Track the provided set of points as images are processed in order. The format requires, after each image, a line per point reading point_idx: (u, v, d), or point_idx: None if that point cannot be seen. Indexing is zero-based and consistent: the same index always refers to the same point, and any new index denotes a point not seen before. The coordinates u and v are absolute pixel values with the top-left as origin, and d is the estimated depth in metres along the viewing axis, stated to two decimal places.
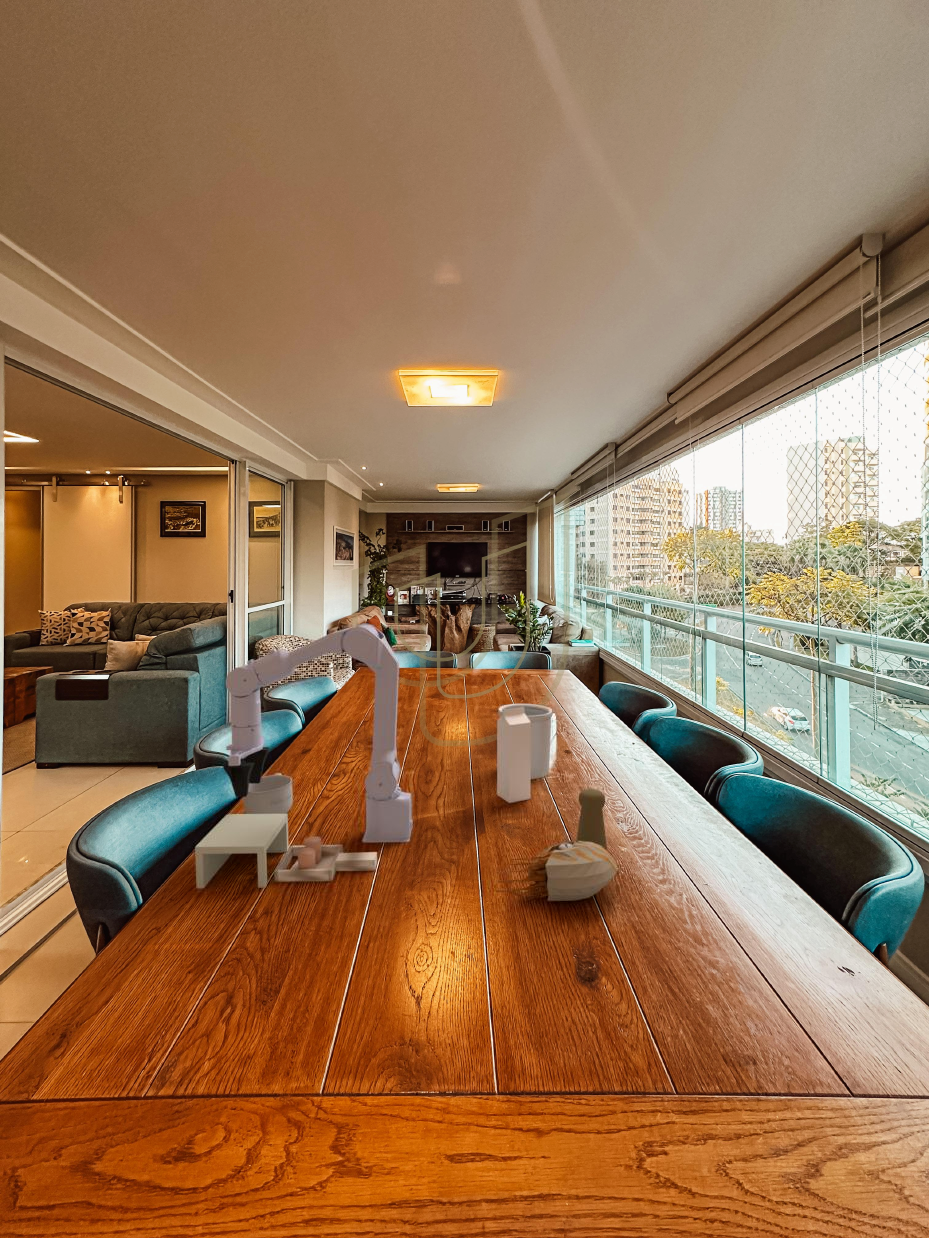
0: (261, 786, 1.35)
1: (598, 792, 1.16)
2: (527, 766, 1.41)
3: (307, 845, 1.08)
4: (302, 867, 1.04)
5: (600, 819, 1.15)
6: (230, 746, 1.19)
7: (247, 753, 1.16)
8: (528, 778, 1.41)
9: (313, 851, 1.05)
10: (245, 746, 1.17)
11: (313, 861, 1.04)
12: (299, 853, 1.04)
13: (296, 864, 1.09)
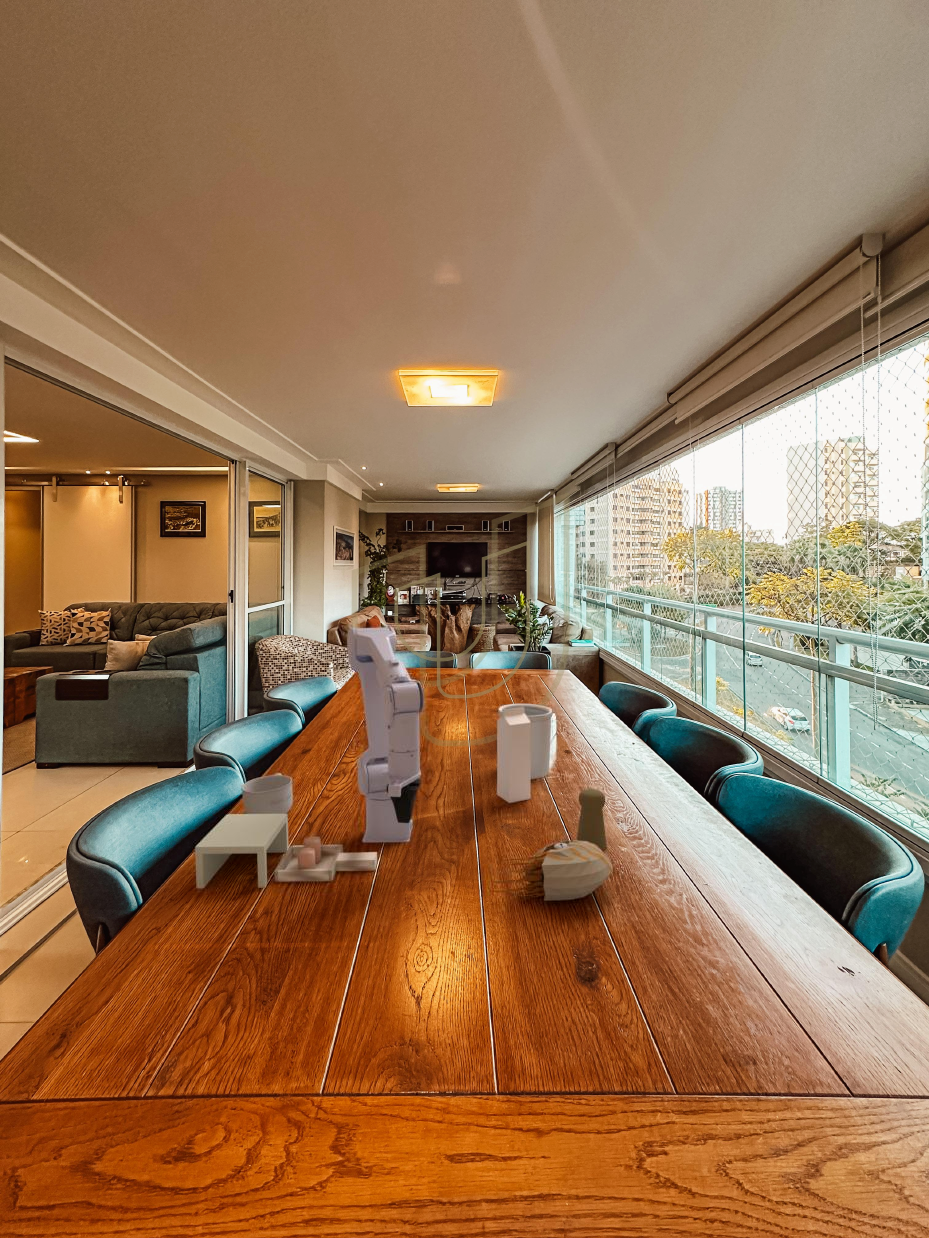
0: (261, 786, 1.35)
1: (598, 792, 1.16)
2: (527, 766, 1.41)
3: (306, 845, 1.08)
4: (302, 866, 1.04)
5: (600, 819, 1.15)
6: (386, 772, 1.06)
7: (407, 782, 1.02)
8: (528, 778, 1.41)
9: (313, 851, 1.05)
10: (404, 773, 1.04)
11: (313, 860, 1.05)
12: (299, 853, 1.04)
13: (296, 864, 1.09)
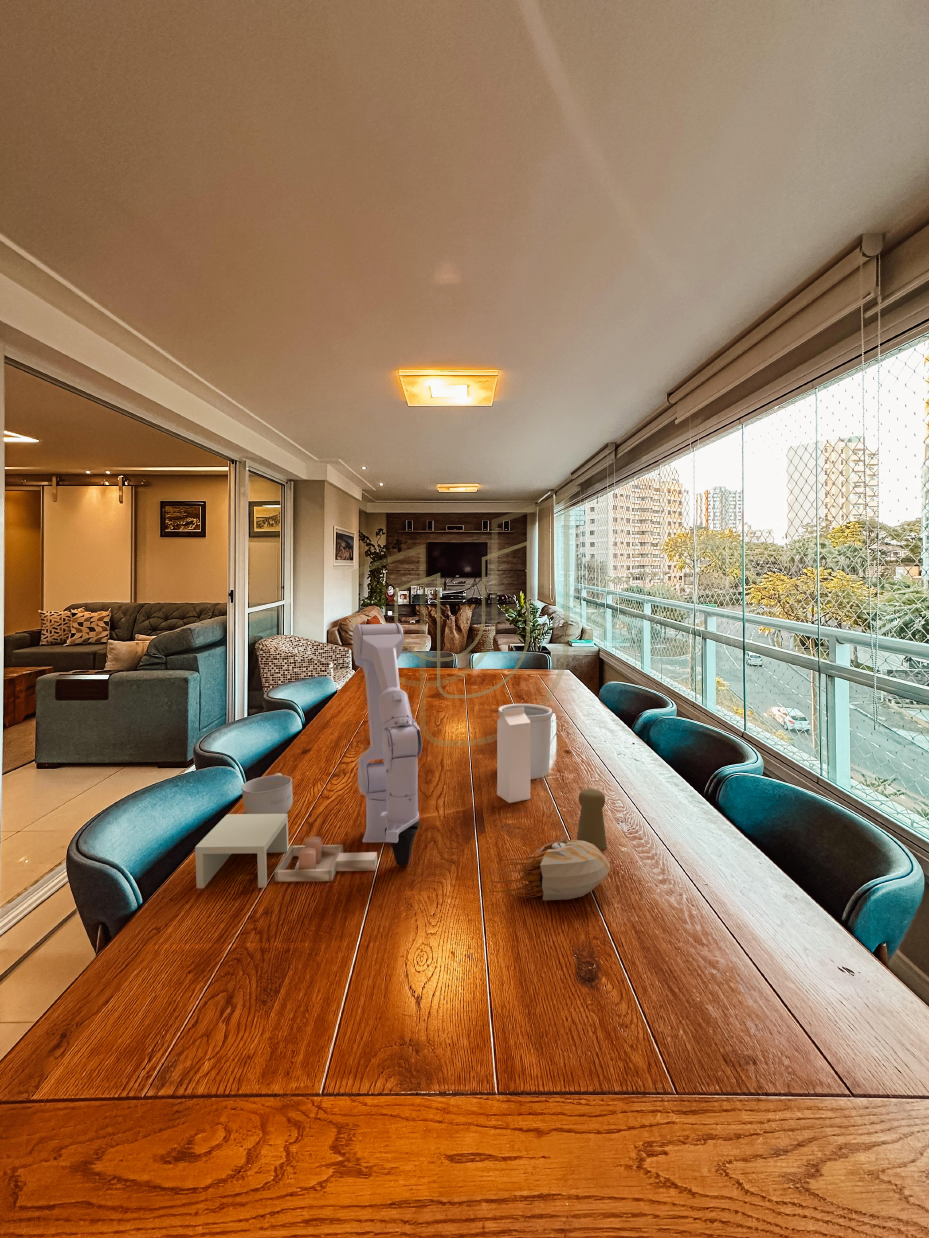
0: (261, 786, 1.35)
1: (597, 792, 1.16)
2: (527, 766, 1.41)
3: (307, 845, 1.08)
4: (303, 866, 1.04)
5: (600, 819, 1.15)
6: (384, 815, 1.07)
7: (405, 827, 1.03)
8: (528, 778, 1.41)
9: (314, 851, 1.05)
10: (402, 818, 1.04)
11: (314, 861, 1.05)
12: (300, 853, 1.04)
13: (296, 864, 1.09)
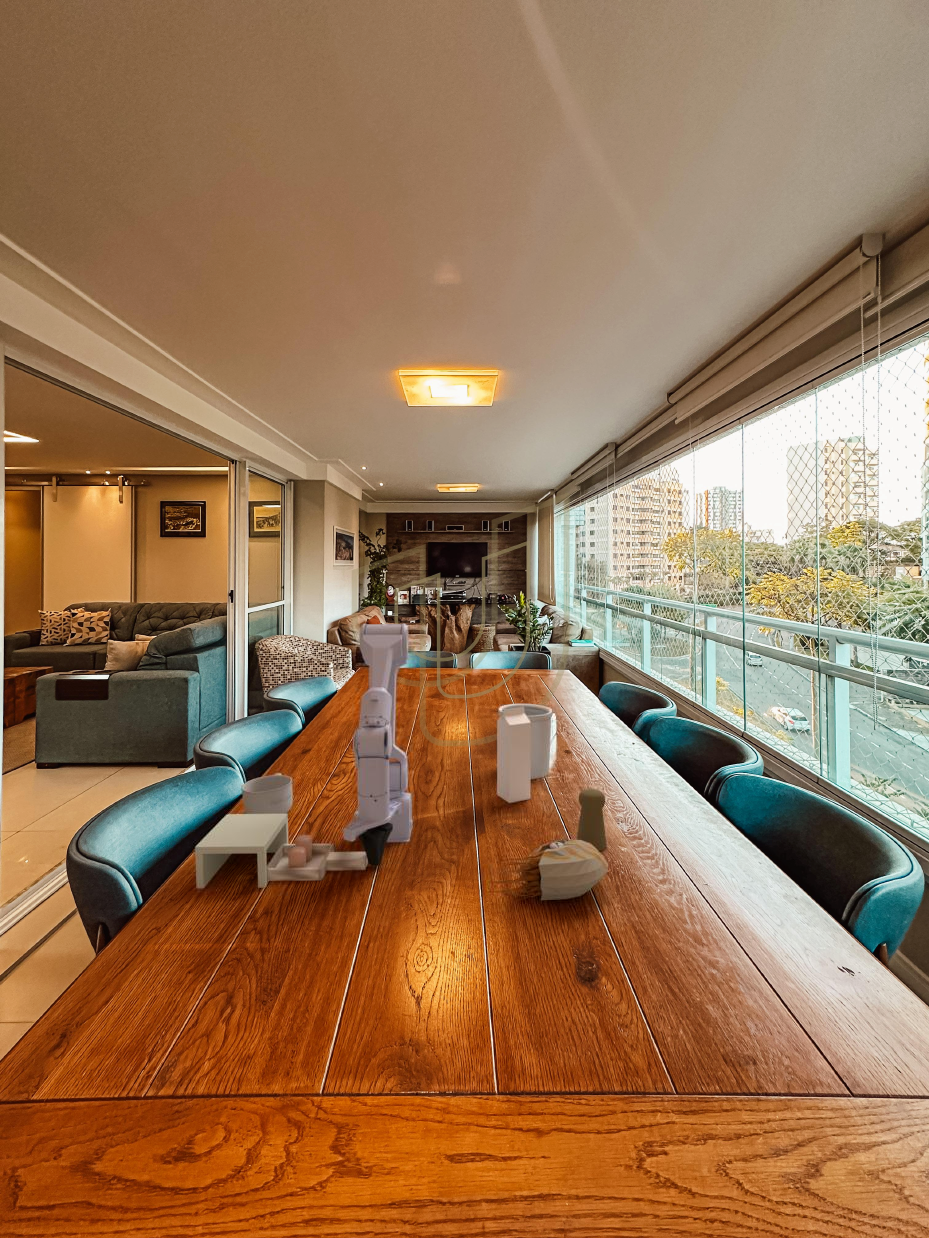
0: (261, 786, 1.35)
1: (598, 792, 1.16)
2: (527, 766, 1.41)
3: (297, 844, 1.09)
4: (293, 865, 1.04)
5: (600, 819, 1.15)
6: (358, 813, 1.08)
7: (366, 827, 1.02)
8: (528, 778, 1.41)
9: (304, 849, 1.05)
10: (367, 818, 1.04)
11: (304, 859, 1.05)
12: (290, 852, 1.05)
13: (287, 862, 1.09)
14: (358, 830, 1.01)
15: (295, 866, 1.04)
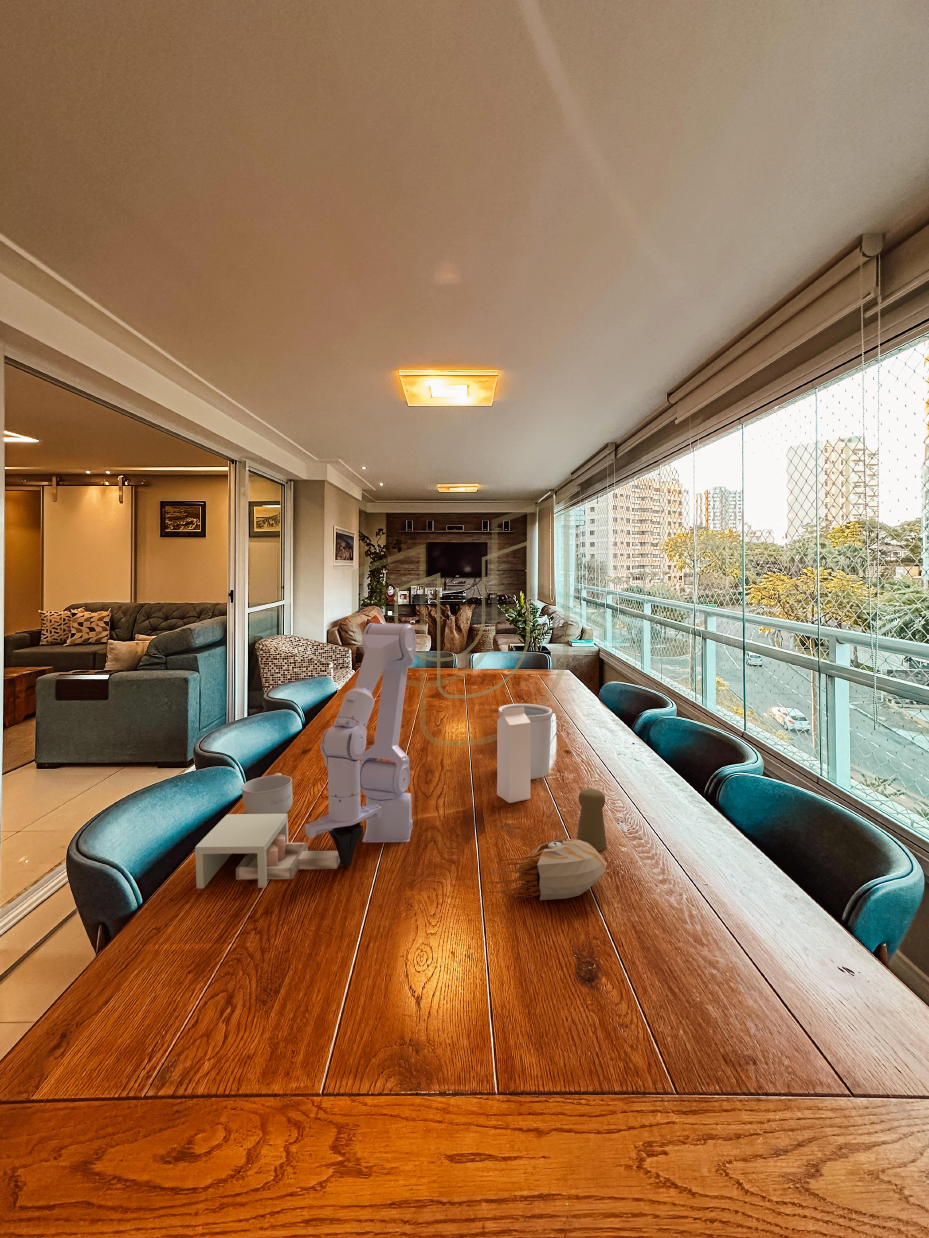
0: (261, 786, 1.35)
1: (598, 792, 1.16)
2: (527, 766, 1.41)
3: None
4: None
5: (600, 819, 1.15)
6: None
7: (327, 826, 1.03)
8: (528, 778, 1.41)
9: (276, 848, 1.06)
10: (332, 817, 1.05)
11: (276, 858, 1.05)
12: None
13: None
14: (318, 828, 1.02)
15: (267, 865, 1.04)
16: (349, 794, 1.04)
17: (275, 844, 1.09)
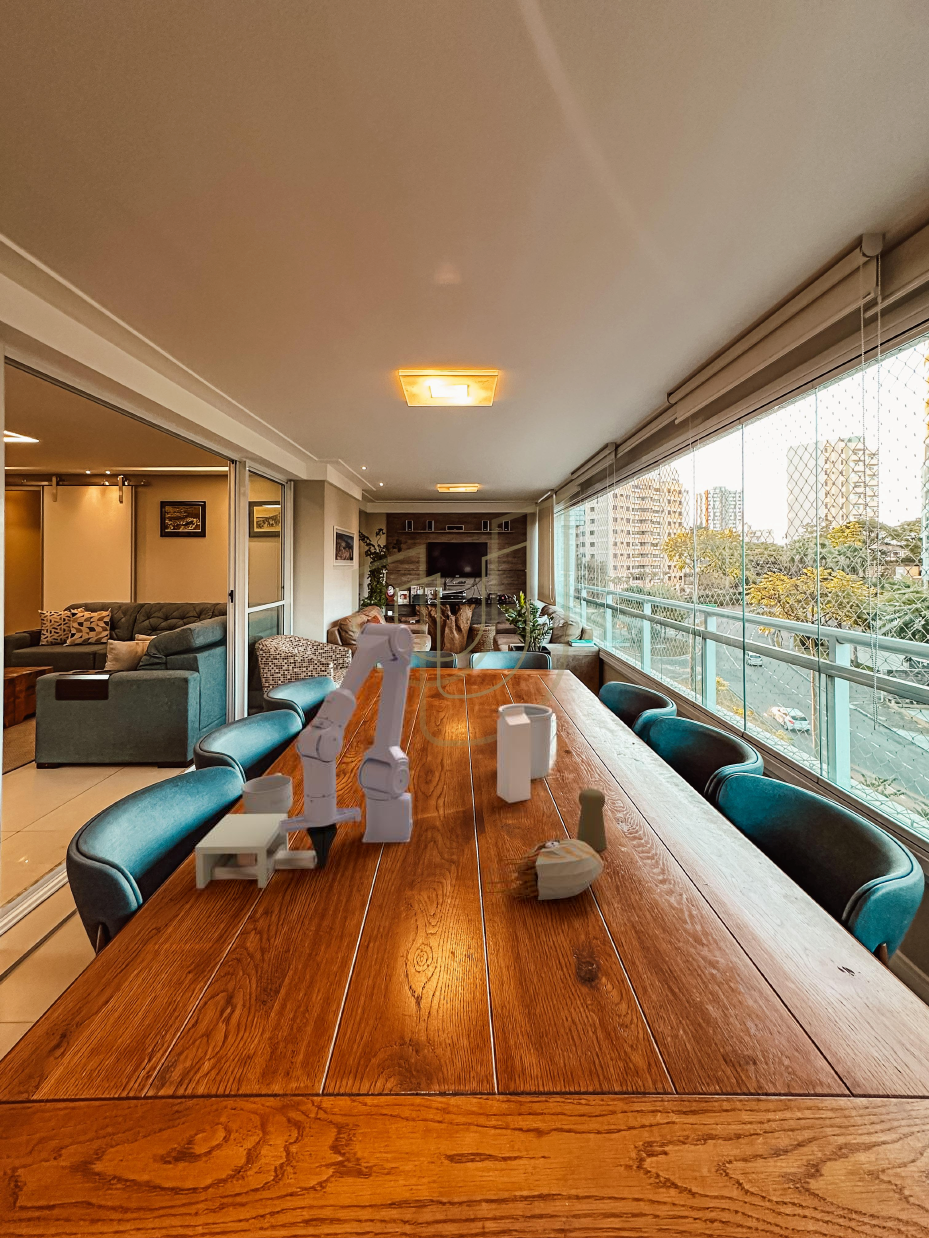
0: (261, 786, 1.35)
1: (598, 792, 1.16)
2: (527, 766, 1.41)
3: None
4: (241, 864, 1.04)
5: (600, 819, 1.15)
6: None
7: (297, 825, 1.04)
8: (528, 778, 1.41)
9: None
10: (306, 816, 1.05)
11: (253, 858, 1.05)
12: None
13: (236, 861, 1.09)
14: (289, 826, 1.03)
15: (243, 865, 1.04)
16: (320, 795, 1.04)
17: None
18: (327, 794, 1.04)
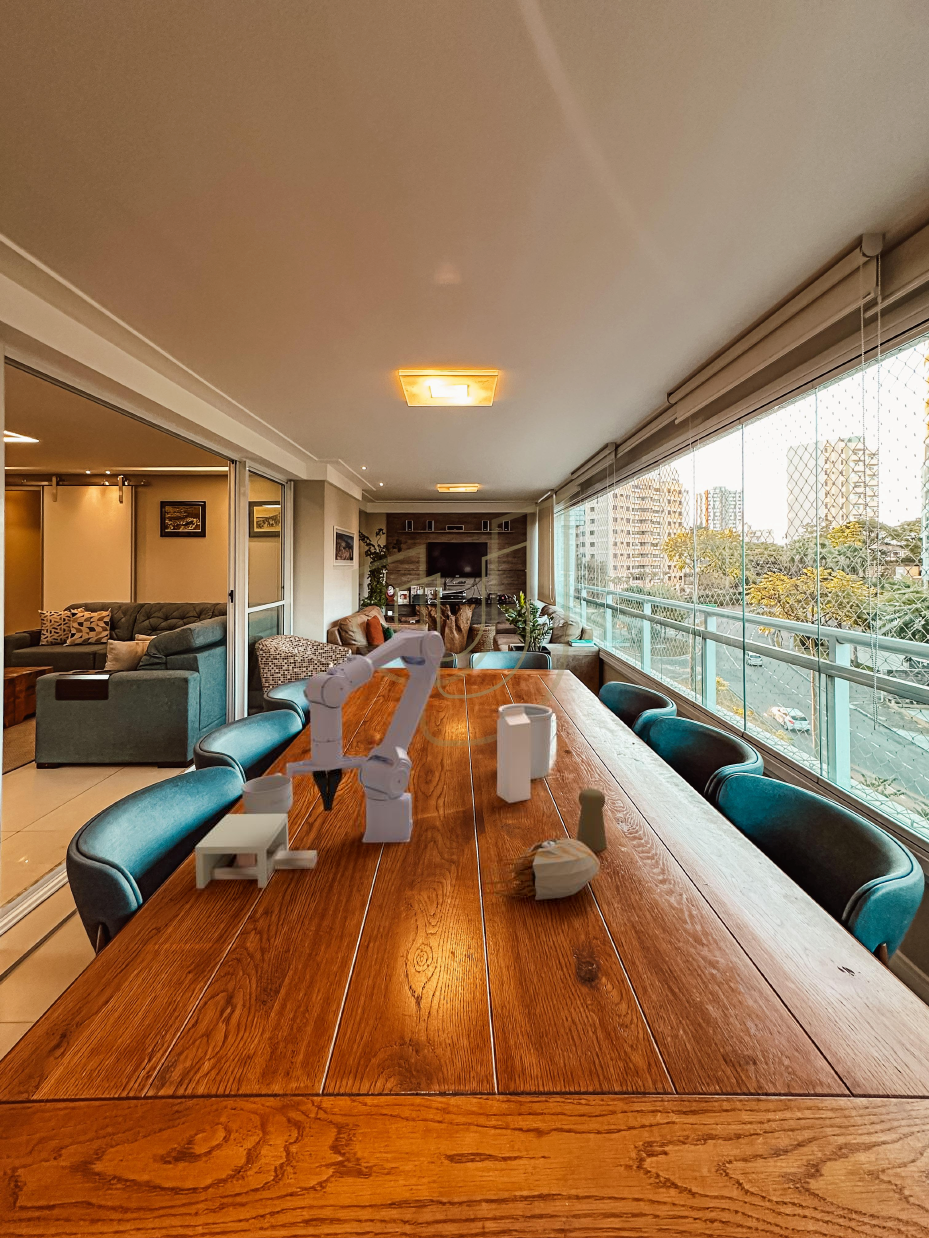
0: (261, 786, 1.35)
1: (598, 792, 1.16)
2: (527, 766, 1.41)
3: None
4: (241, 865, 1.04)
5: (600, 819, 1.15)
6: None
7: (303, 768, 1.07)
8: (528, 778, 1.41)
9: None
10: (312, 760, 1.08)
11: (253, 859, 1.05)
12: None
13: (236, 862, 1.09)
14: (295, 768, 1.07)
15: (243, 866, 1.04)
16: (325, 740, 1.07)
17: None
18: (332, 739, 1.07)
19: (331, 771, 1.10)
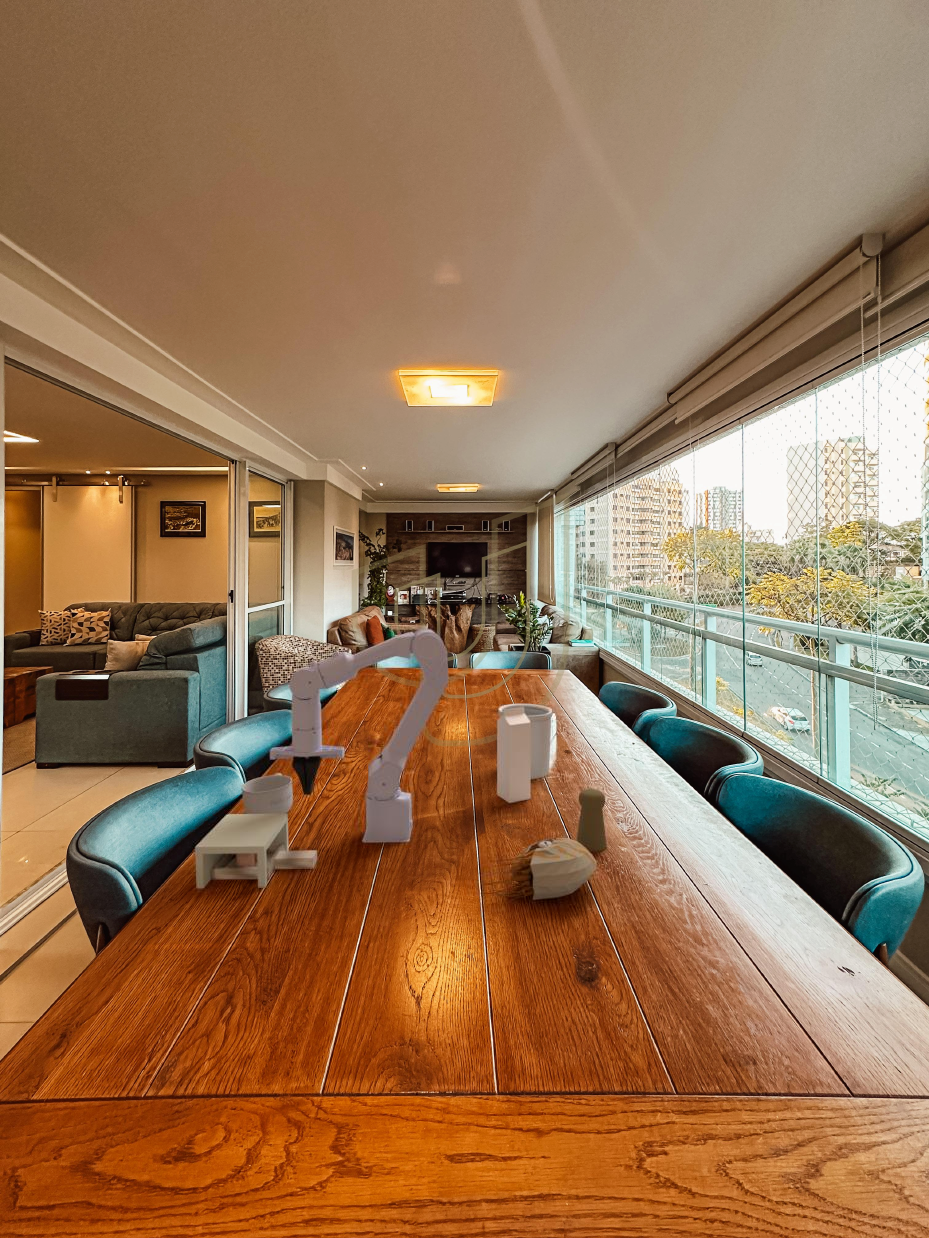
0: (261, 786, 1.35)
1: (598, 792, 1.16)
2: (527, 766, 1.41)
3: None
4: (241, 865, 1.04)
5: (600, 819, 1.15)
6: None
7: (283, 752, 1.17)
8: (528, 778, 1.41)
9: None
10: None
11: (253, 858, 1.05)
12: None
13: (236, 862, 1.09)
14: (276, 752, 1.17)
15: (244, 866, 1.04)
16: (295, 728, 1.16)
17: None
18: (301, 728, 1.15)
19: (310, 758, 1.18)
